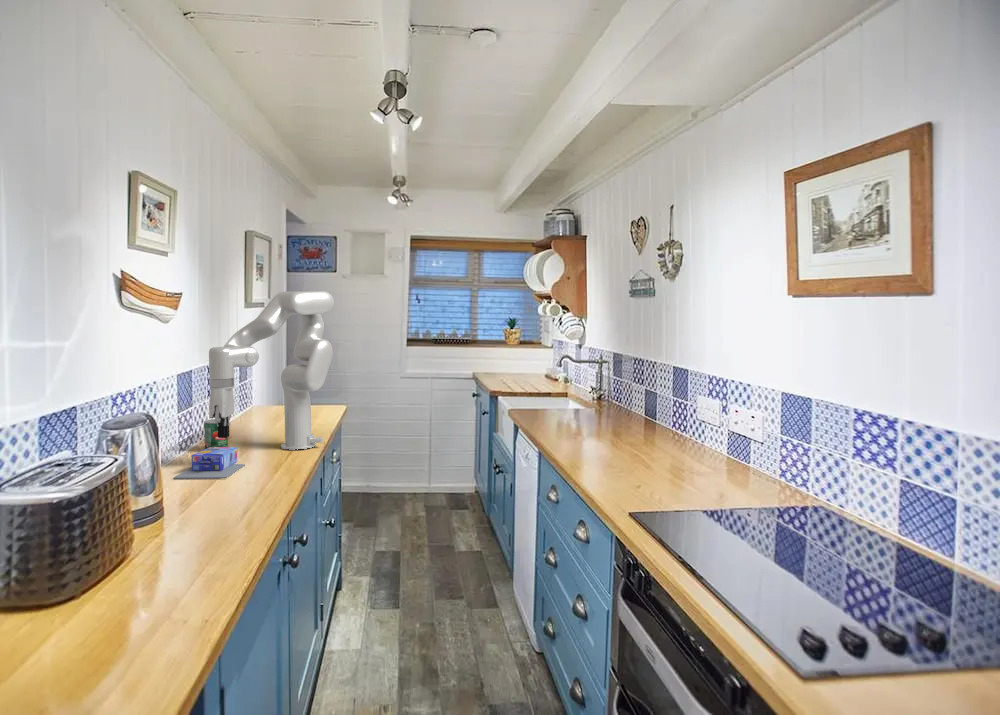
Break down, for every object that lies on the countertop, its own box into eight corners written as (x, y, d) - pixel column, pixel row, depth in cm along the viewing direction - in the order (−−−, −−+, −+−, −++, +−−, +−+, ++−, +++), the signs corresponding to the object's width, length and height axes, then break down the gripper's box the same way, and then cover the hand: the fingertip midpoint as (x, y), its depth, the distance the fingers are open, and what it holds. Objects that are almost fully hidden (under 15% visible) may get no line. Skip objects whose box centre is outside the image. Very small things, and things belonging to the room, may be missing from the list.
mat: (245, 465, 207) (245, 464, 207) (226, 479, 191) (226, 477, 191) (196, 466, 206) (196, 464, 206) (173, 479, 190) (173, 477, 190)
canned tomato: (222, 452, 226) (221, 422, 225) (200, 452, 226) (199, 422, 225) (231, 447, 234) (231, 418, 233) (211, 447, 234) (210, 418, 233)
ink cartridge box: (237, 446, 209) (217, 457, 194) (238, 461, 209) (218, 474, 195) (209, 445, 209) (186, 457, 195) (209, 461, 210) (187, 474, 195)
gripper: (219, 381, 215) (221, 433, 216) (201, 386, 200) (202, 442, 201) (241, 381, 215) (243, 432, 216) (224, 386, 200) (226, 442, 201)
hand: (223, 437), depth 209 cm, fingers closed
